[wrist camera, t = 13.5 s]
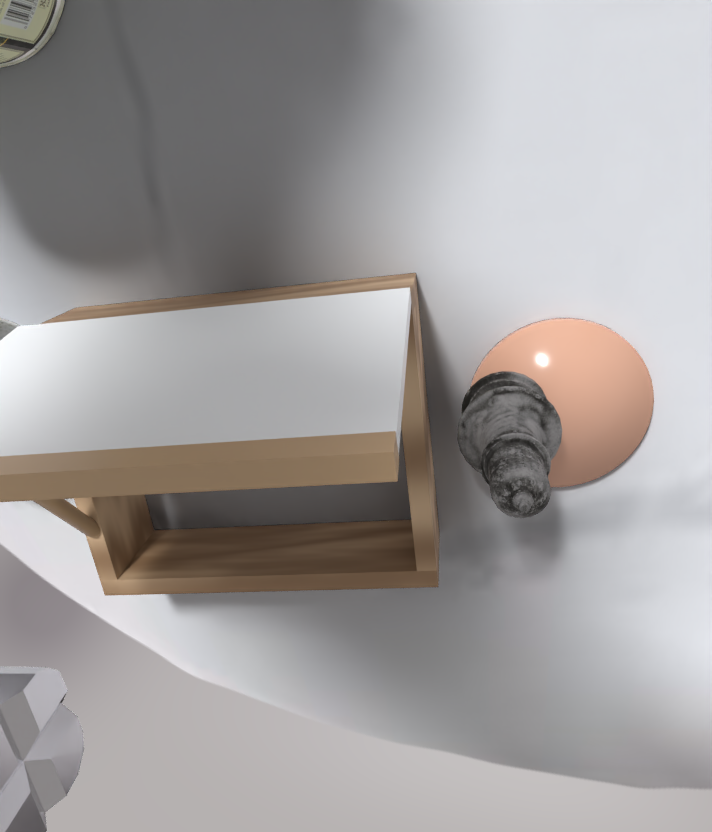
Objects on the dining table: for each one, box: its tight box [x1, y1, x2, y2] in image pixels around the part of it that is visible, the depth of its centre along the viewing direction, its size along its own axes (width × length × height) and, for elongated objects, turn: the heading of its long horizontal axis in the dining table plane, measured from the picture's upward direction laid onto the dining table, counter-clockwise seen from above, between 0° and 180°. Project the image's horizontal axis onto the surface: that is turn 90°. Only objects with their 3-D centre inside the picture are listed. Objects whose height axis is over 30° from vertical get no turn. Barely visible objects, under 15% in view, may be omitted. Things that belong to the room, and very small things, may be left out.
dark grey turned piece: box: [457, 371, 562, 518], centre depth 36 cm, size 6×6×12 cm
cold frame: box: [41, 273, 439, 595], centre depth 42 cm, size 18×22×6 cm
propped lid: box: [0, 287, 411, 538], centre depth 32 cm, size 14×22×15 cm, turn 97°
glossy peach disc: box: [470, 318, 654, 487], centre depth 41 cm, size 11×11×1 cm
